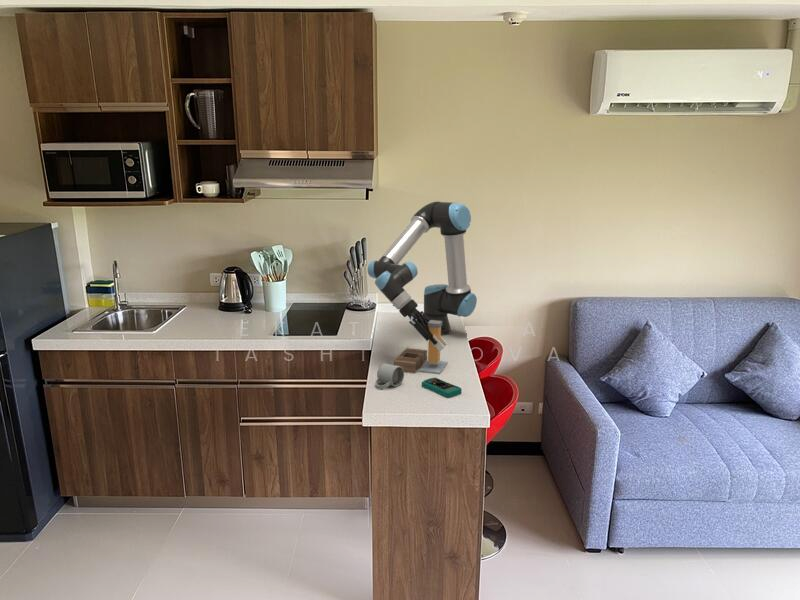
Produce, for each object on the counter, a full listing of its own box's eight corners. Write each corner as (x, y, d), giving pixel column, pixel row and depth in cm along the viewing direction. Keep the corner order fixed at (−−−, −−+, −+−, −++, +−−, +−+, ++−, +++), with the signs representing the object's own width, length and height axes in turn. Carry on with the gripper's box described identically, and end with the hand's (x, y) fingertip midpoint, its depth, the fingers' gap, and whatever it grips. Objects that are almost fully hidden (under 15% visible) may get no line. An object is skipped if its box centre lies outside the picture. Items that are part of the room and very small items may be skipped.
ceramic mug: (387, 378, 232) (387, 359, 230) (404, 383, 228) (404, 364, 226) (370, 386, 224) (369, 367, 222) (387, 392, 219) (387, 372, 217)
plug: (429, 358, 247) (430, 319, 243) (441, 360, 246) (442, 321, 242) (426, 362, 243) (427, 322, 239) (438, 363, 241) (439, 324, 238)
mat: (429, 360, 253) (429, 359, 253) (447, 363, 250) (447, 361, 250) (420, 371, 240) (420, 370, 240) (439, 374, 238) (439, 372, 237)
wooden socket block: (406, 356, 258) (406, 347, 257) (426, 359, 255) (427, 350, 254) (393, 370, 241) (393, 361, 240) (415, 373, 238) (415, 363, 237)
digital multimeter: (434, 383, 230) (434, 375, 229) (462, 394, 219) (462, 387, 218) (420, 387, 225) (420, 380, 224) (447, 399, 214) (448, 391, 213)
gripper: (404, 305, 252) (442, 347, 251) (392, 315, 236) (431, 359, 235) (417, 294, 249) (454, 336, 248) (405, 303, 233) (445, 348, 233)
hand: (443, 347), depth 242 cm, fingers closed on plug, 4 cm apart
